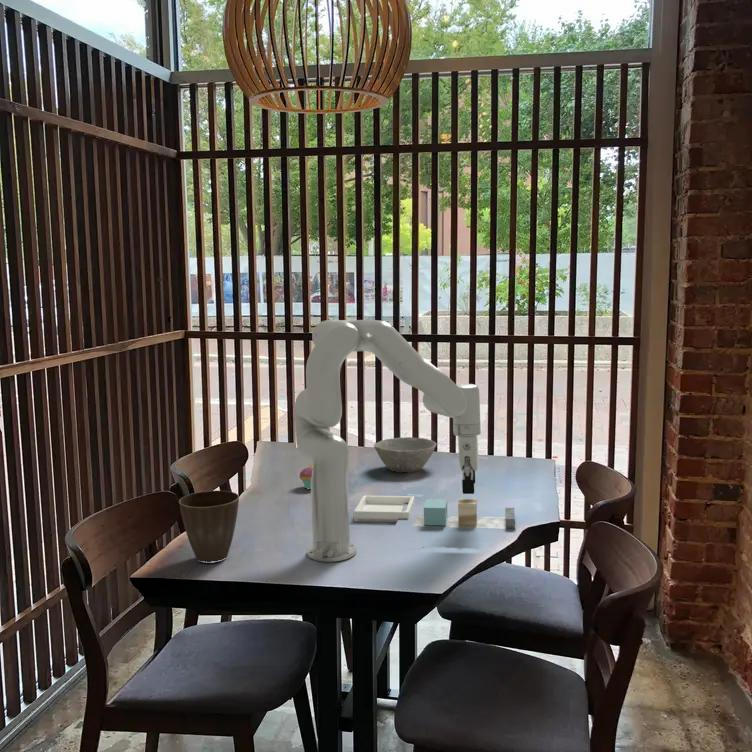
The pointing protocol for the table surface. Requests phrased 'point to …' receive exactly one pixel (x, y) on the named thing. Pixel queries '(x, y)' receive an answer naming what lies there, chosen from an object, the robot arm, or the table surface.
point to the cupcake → (306, 476)
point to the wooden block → (467, 512)
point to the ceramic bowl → (405, 453)
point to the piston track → (482, 522)
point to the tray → (383, 508)
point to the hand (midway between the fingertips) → (469, 488)
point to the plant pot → (210, 522)
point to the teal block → (435, 512)
